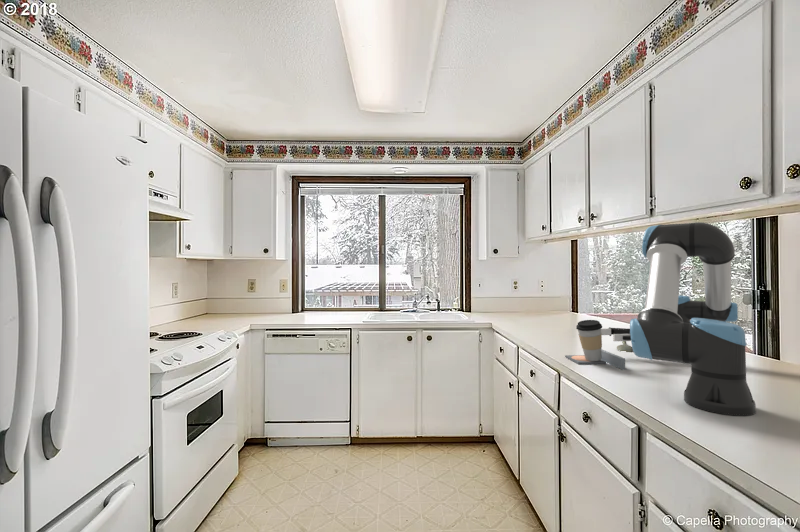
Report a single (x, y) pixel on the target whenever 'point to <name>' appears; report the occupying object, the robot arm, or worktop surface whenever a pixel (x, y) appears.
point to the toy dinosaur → (625, 347)
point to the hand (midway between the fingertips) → (604, 334)
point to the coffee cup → (590, 339)
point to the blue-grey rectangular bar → (613, 359)
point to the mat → (583, 360)
